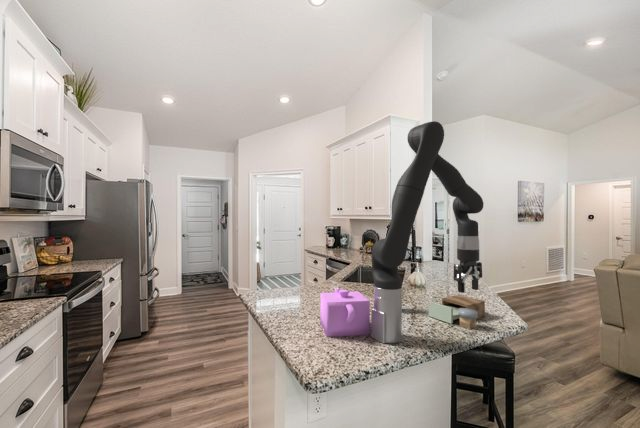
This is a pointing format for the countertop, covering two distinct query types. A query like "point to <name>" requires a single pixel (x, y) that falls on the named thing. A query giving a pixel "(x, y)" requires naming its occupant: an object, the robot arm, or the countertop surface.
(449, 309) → the tray
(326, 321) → the teapot
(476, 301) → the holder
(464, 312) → the grey round dome
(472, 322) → the oak block
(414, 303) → the countertop surface
